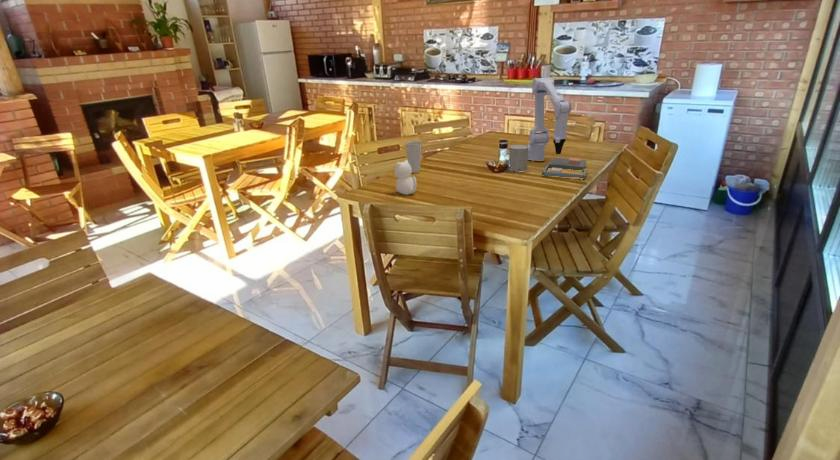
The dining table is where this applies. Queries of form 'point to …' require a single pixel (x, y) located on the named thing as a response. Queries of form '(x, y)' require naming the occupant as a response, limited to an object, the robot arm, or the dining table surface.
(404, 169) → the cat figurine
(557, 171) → the cream tile
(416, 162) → the cup
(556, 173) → the tray
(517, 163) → the grey canister
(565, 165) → the plate
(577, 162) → the terracotta tile
